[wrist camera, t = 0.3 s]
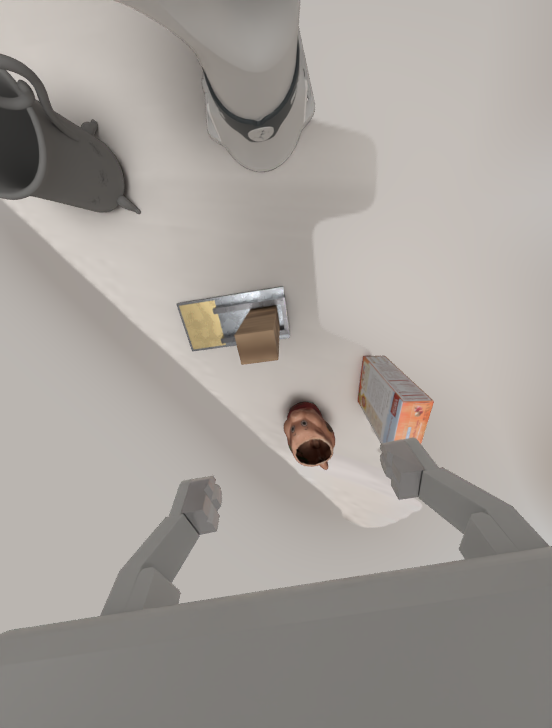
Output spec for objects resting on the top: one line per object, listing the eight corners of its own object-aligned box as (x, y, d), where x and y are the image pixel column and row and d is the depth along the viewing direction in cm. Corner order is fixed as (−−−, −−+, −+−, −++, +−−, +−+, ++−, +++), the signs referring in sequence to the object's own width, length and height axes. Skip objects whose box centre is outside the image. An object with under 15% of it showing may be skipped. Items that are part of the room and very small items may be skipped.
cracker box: (378, 400, 64) (418, 460, 45) (356, 400, 64) (387, 461, 46) (386, 354, 58) (437, 402, 39) (362, 355, 58) (401, 402, 40)
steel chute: (178, 303, 54) (170, 306, 50) (283, 286, 52) (283, 288, 48) (193, 349, 59) (187, 356, 55) (290, 336, 57) (290, 341, 53)
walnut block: (250, 308, 53) (234, 335, 35) (276, 304, 52) (273, 329, 34) (255, 328, 55) (241, 364, 37) (279, 325, 54) (278, 359, 36)
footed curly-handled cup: (90, 236, 48) (-78, 219, 26) (39, 151, 43) (-235, 32, 20) (167, 202, 46) (54, 148, 23) (124, 104, 40) (-86, -96, 17)
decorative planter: (342, 431, 69) (355, 470, 57) (307, 448, 73) (312, 488, 60) (308, 384, 63) (314, 416, 50) (271, 404, 66) (269, 439, 53)
